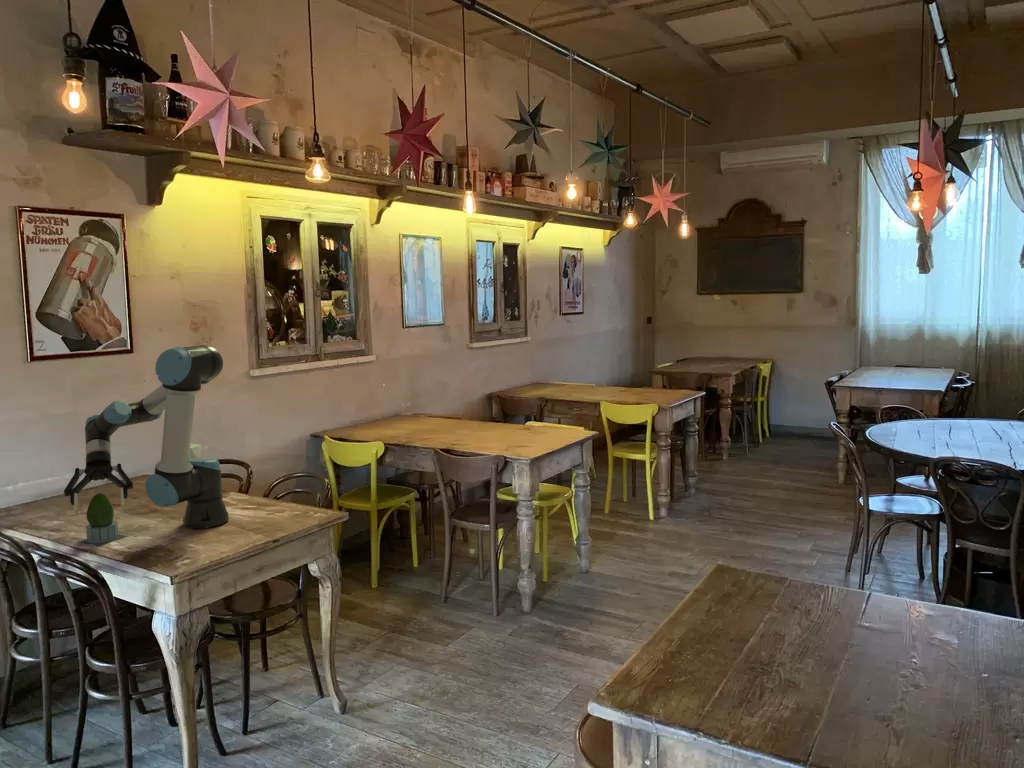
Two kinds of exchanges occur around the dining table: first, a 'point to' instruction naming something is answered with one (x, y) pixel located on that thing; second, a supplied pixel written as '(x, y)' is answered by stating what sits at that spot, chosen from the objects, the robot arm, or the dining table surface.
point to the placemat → (102, 543)
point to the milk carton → (195, 451)
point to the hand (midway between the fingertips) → (99, 509)
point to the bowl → (102, 533)
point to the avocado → (100, 511)
